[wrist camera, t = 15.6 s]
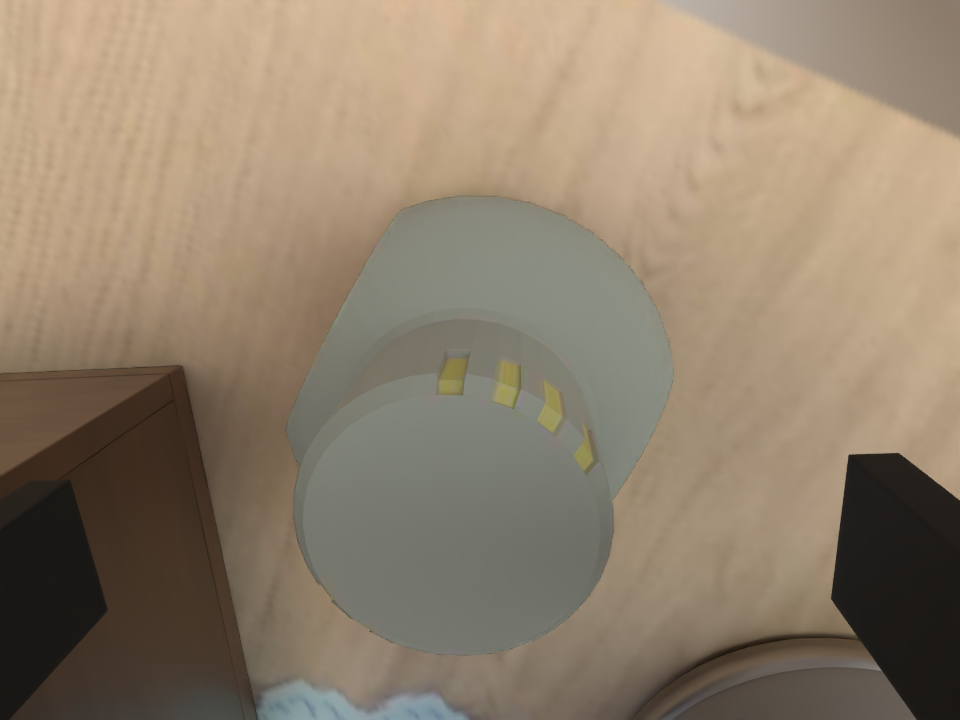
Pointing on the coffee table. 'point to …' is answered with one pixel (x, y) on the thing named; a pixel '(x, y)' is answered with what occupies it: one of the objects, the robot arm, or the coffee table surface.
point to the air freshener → (475, 425)
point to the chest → (131, 545)
